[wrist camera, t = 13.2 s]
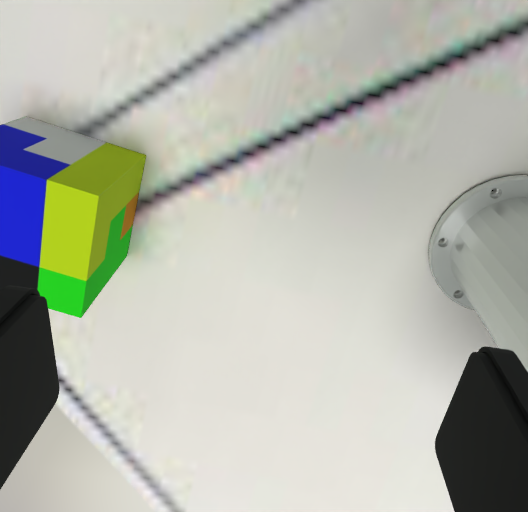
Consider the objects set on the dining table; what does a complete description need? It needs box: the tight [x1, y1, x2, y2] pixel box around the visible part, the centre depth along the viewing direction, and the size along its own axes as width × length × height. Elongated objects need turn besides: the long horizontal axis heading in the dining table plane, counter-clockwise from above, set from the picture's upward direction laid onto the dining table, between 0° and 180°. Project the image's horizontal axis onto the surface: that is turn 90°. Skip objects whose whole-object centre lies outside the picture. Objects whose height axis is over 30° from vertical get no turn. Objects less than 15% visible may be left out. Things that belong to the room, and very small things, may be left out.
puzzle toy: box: [0, 116, 146, 318], centre depth 35 cm, size 10×10×10 cm
